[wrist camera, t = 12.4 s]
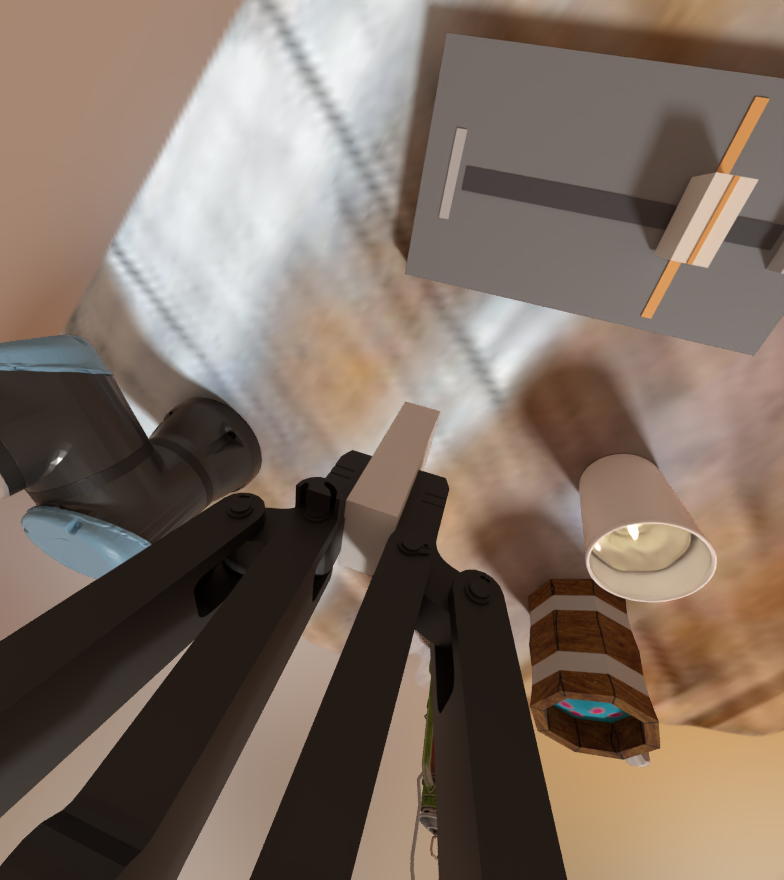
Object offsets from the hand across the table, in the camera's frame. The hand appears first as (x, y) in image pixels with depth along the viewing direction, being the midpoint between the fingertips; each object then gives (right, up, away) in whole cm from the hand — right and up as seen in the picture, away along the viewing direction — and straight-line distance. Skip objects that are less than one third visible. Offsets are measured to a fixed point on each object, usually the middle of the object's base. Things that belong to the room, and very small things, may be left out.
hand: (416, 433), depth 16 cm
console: (+17, +19, +15) cm, 29 cm away
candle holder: (+25, -5, +27) cm, 37 cm away
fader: (+21, +16, +11) cm, 28 cm away
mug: (+27, -27, +39) cm, 55 cm away
